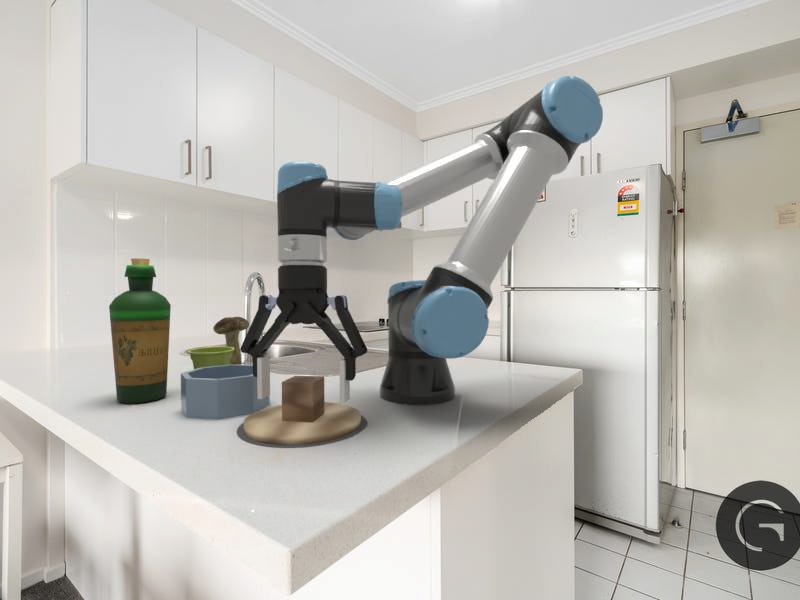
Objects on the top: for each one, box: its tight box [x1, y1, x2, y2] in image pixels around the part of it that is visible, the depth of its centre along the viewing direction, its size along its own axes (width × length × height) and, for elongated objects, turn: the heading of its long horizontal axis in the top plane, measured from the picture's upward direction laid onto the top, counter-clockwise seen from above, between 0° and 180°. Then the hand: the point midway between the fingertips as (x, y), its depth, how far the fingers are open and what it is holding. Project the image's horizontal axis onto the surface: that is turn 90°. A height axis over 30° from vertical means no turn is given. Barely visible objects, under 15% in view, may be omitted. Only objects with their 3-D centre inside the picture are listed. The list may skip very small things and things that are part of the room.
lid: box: [243, 375, 362, 445], centre depth 68 cm, size 18×18×7 cm
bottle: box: [108, 258, 172, 405], centre depth 86 cm, size 11×11×28 cm
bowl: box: [180, 364, 271, 421], centre depth 78 cm, size 14×14×7 cm
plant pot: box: [187, 346, 234, 370], centre depth 95 cm, size 9×9×9 cm
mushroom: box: [212, 316, 250, 365], centre depth 110 cm, size 9×9×15 cm
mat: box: [236, 414, 368, 449], centre depth 68 cm, size 20×20×1 cm
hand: (303, 399), depth 68 cm, fingers open, 13 cm apart
